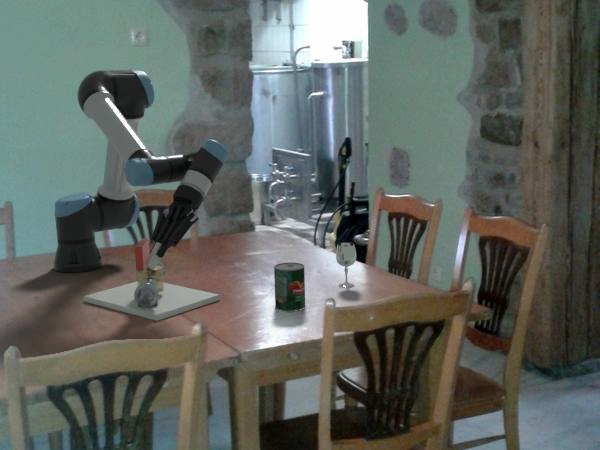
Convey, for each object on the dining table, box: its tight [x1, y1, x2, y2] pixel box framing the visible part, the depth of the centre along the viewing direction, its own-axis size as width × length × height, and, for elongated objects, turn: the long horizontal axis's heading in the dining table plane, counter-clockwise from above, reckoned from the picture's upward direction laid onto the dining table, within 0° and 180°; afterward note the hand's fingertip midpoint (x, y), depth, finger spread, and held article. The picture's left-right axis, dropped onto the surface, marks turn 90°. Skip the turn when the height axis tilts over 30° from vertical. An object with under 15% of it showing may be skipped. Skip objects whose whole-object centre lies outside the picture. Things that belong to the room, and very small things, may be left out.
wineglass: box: [335, 242, 357, 289], centre depth 222 cm, size 6×6×12 cm
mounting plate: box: [83, 281, 220, 322], centre depth 213 cm, size 30×22×2 cm
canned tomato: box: [273, 261, 306, 312], centre depth 204 cm, size 8×8×11 cm
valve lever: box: [134, 238, 150, 273], centre depth 205 cm, size 16×4×7 cm, turn 1°
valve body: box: [134, 261, 166, 307], centre depth 212 cm, size 26×7×9 cm, turn 6°
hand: (149, 266), depth 199 cm, fingers closed
